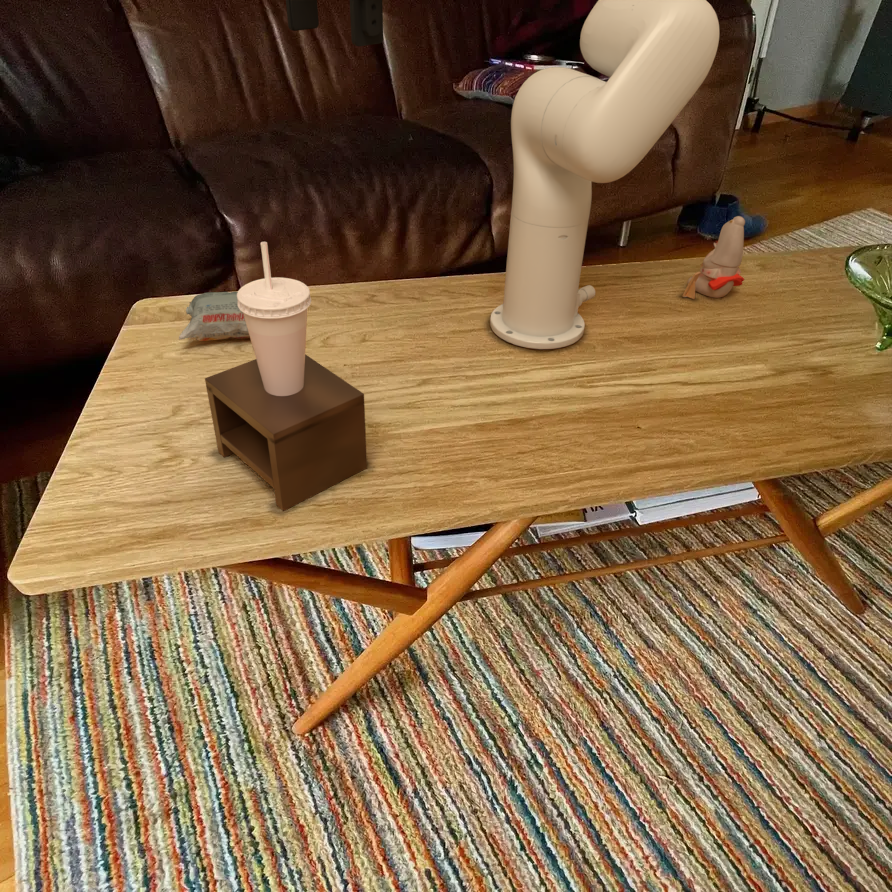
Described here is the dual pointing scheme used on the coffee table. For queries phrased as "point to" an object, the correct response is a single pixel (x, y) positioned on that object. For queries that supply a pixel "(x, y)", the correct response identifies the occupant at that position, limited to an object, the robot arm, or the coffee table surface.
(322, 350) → the coffee table surface
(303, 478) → the box
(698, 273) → the figurine
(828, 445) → the coffee table surface
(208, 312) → the packaged food
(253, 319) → the smoothie
